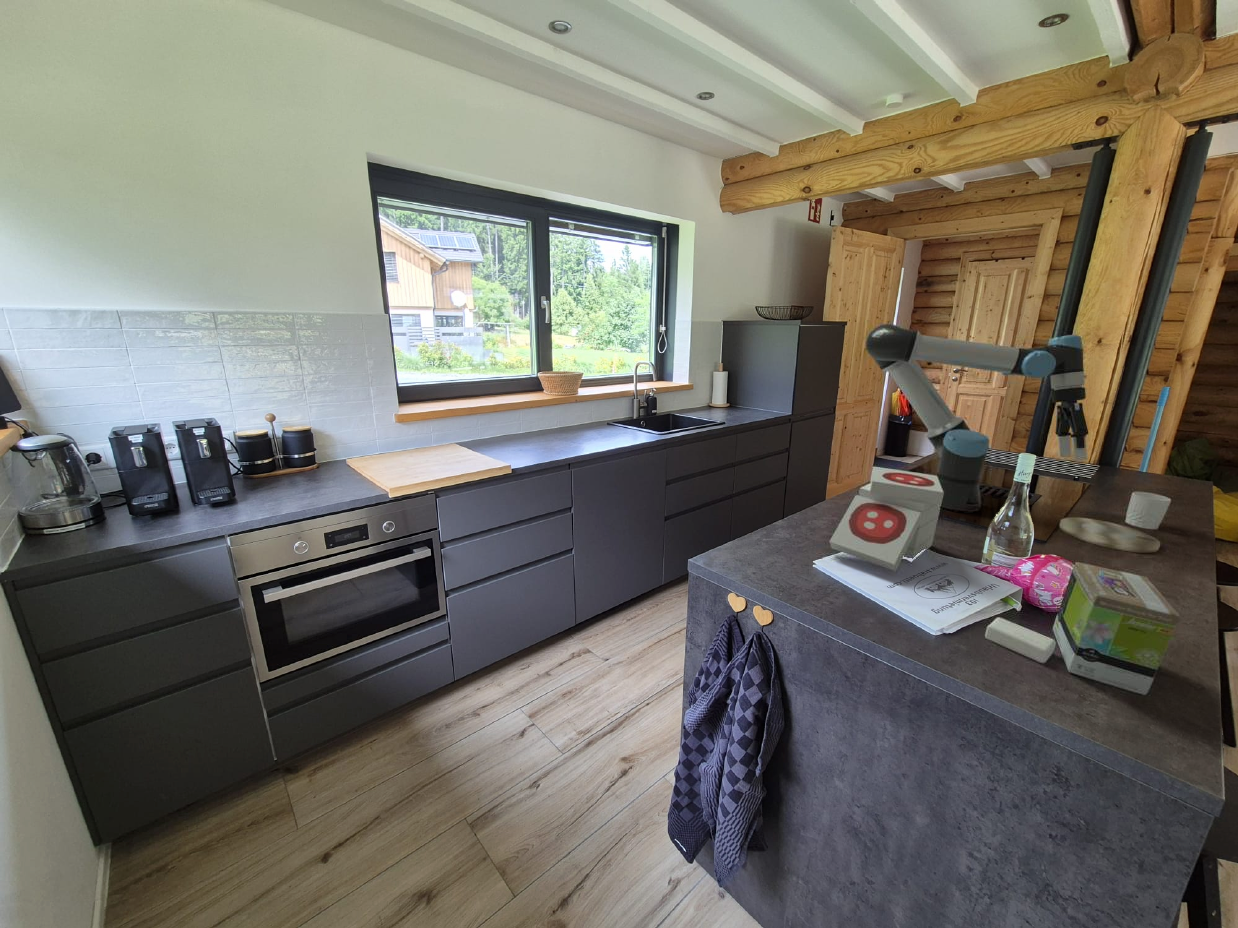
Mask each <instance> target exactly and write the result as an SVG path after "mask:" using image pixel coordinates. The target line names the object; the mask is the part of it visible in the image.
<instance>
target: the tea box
mask: <svg viewBox="0 0 1238 928" xmlns="http://www.w3.org/2000/svg"><path fill="white" fill-rule="evenodd" d="M1070 573H1071V574H1070V576H1069V579H1068V583H1067V586H1066V588H1065V591H1064V595H1063V597H1062V599H1061V603H1060V605H1059V609H1058V612H1057V614H1056V617H1055V619H1054V624H1053V627H1052V632H1053V633H1054V637H1055V638H1056V642H1057V644H1058V647H1059V649H1060V652H1061V655H1062V658H1063V660H1064V663H1065V666H1066V668H1067V671H1068V672H1069V673H1071V674H1074V675H1077V676H1080V677H1083V678H1086V679H1089V680H1093V681H1095V682H1099V683H1103V684H1106V685H1108V686H1112V687H1115V688H1119V689H1123V690H1126V691H1128V692H1132V693H1136V694H1140V695H1142V696H1146V695H1147V694H1148V692H1149V691H1150V688H1151V686H1152V684H1153V682H1154V679H1155V676H1156V674H1157V671H1158V670H1159V667H1160V665H1161V663H1162V660H1163V657H1164V655H1165V653H1166V651H1167V649H1168V646H1169V645H1170V642H1171V639H1172V637H1173V634H1174V633H1175V630H1176V628H1177V627H1178V626H1177V624H1178V623H1179V620H1180V618H1181V616H1180V614H1179V613H1178V612H1177V611H1176V609H1175V608H1174V607H1173V606H1172V605H1171V603H1170V602H1169V601H1168V600H1167V599H1166V597H1164V596H1163V594H1162V593H1161V592H1160V590H1158V589H1157V587H1156V586H1155V584H1153V583H1152V581H1150V579H1149V578H1148V577H1147V576H1143V575H1138V574H1133V573H1129V572H1125V571H1120V570H1116V569H1115V570H1114V569H1110V568H1107V567H1102V566H1097V565H1093V564H1088V563H1083V562H1078V561H1075V563H1074V565H1073V567H1072V571H1071V572H1070Z"/></svg>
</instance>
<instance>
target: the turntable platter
mask: <svg viewBox="0 0 1238 928" xmlns="http://www.w3.org/2000/svg"><path fill="white" fill-rule="evenodd" d="M1058 527H1059V529H1060V530H1061V531H1062V532H1064V533H1066V534H1068V535H1069V536H1071V537H1074V538H1076V539H1079V540H1081V541H1085V542H1088V543H1090V544H1093V545H1097V546H1100V547H1104V548H1109V549H1113V550H1119V551H1123V552H1129V553H1130V552H1131V553H1138V554H1139V553H1141V554H1143V553H1144V554H1149V553H1156V552H1158V551H1159V549H1160V547H1161V542H1160V541H1159V540H1158V539H1157V538H1155V537H1154V536H1152V535H1150V534H1147V533H1146V532H1143V531H1140V530H1137V529H1135V528H1133V527H1129V526H1127V525H1126V526H1125V525H1121V524H1117V523H1114V522H1110V521H1104V520H1100V519H1093V518H1087V517H1086V518H1085V517H1075V516H1074V517H1063V518H1061V519H1060V522H1059V526H1058Z"/></svg>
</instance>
